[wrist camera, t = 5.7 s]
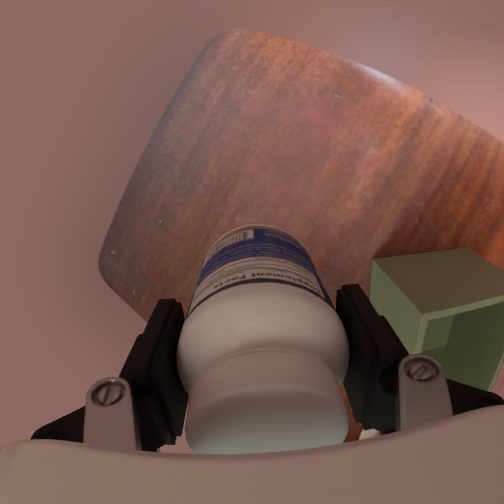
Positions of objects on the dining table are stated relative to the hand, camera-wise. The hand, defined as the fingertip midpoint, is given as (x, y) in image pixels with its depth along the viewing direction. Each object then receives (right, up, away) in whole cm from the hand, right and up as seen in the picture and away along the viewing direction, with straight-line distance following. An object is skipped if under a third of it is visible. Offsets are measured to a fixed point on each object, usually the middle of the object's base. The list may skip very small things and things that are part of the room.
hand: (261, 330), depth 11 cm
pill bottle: (0, +2, +5) cm, 5 cm away
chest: (+21, -4, +26) cm, 33 cm away
